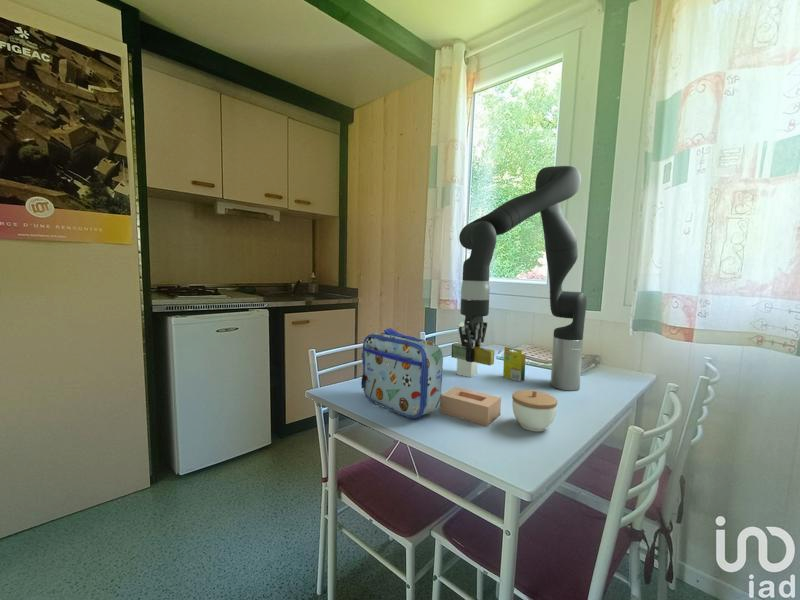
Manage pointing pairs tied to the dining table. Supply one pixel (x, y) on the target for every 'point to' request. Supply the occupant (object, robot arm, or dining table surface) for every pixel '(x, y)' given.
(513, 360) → the crayon box
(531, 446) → the dining table surface
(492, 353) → the medication box
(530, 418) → the lidded jar
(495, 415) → the beige slotted holder
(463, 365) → the milk
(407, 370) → the lunch box
